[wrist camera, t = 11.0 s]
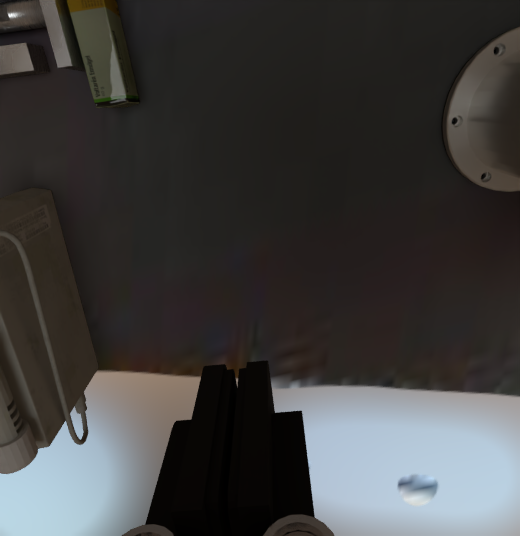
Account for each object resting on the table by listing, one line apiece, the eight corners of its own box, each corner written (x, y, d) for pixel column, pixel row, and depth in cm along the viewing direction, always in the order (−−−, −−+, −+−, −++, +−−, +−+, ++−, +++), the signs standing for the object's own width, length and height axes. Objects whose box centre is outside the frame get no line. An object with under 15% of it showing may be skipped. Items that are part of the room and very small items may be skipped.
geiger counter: (-141, 239, 23) (-2, 528, 33) (-34, 233, 23) (74, 526, 32) (5, 189, 36) (74, 407, 45) (75, 184, 35) (129, 405, 45)
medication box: (143, 104, 33) (129, 104, 29) (111, 109, 33) (93, 110, 29) (100, -76, 28) (78, -103, 25) (64, -70, 29) (35, -95, 25)
